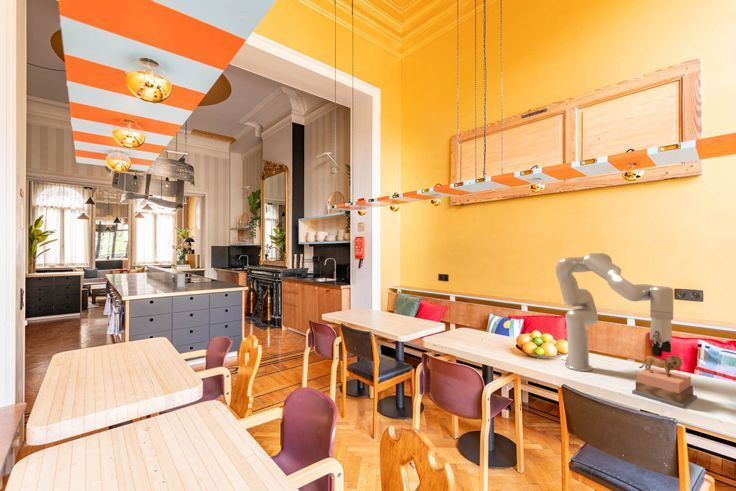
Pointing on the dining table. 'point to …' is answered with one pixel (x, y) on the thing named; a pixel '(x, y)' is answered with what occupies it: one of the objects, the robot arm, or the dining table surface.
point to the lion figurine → (663, 363)
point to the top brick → (664, 380)
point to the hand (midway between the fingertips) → (661, 353)
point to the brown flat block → (665, 393)
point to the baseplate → (667, 400)
